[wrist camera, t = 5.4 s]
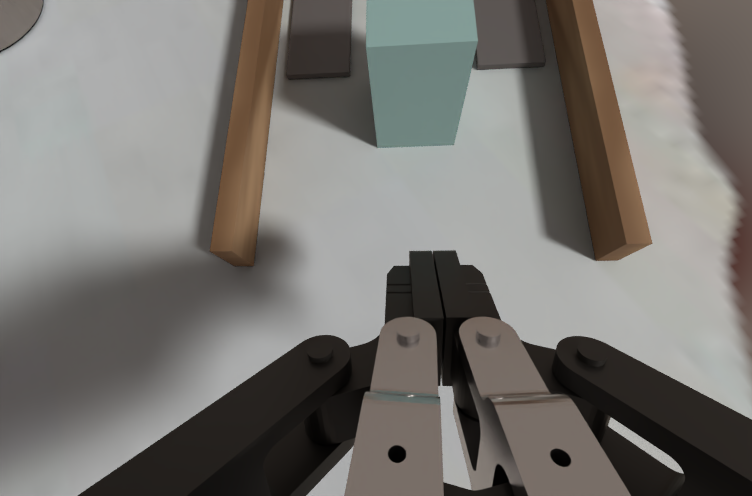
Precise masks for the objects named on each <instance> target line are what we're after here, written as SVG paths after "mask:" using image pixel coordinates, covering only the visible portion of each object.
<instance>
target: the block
mask: <svg viewBox="0 0 752 496" xmlns="http://www.w3.org/2000/svg"><path fill="white" fill-rule="evenodd" d="M477 43H478V37H477V28H476V19H475V10H474V1H473V0H367V9H366V52H367V60H368V69H369V78H370V87H371V95H372V104H373V113H374V122H375V130H376V139H377V148H388V147H415V146H441V145H454V142H455V138H456V133H457V129H458V125H459V121H460V116H461V112H462V108H463V103H464V99H465V95H466V90H467V86H468V82H469V77H470V73H471V69H472V64H473V60H474V56H475V52H476V47H477Z"/></svg>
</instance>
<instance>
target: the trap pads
mask: <svg viewBox="0 0 752 496" xmlns="http://www.w3.org/2000/svg"><path fill="white" fill-rule="evenodd" d="M473 1H474V10H475V19H476V28H477V37H478V43H477V47H476V62H477V70H481V69H501V68H521V67H541V66H544V64H545V62H546V61H545V56H544V50H543V45H542V39H541V33H540V28H539V22H538V17H537V11H536V6H535V0H473ZM351 19H352V0H294V3H293V13H292V23H291V33H290V43H289V53H288V63H287V74H286V75H287V78H288V79H300V78H320V77H340V76H350V51H351Z"/></svg>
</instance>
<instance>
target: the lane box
mask: <svg viewBox="0 0 752 496" xmlns="http://www.w3.org/2000/svg"><path fill="white" fill-rule="evenodd" d="M546 4H547V9H548V15H549V20H550V25H551V30H552V36H553V41H554V46H555V51H556V56H557V62H558V67H559V72H560V77H561V82H562V88H563V93H564V98H565V103H566V108H567V114H568V119H569V124H570V129H571V134H572V140H573V145H574V150H575V155H576V160H577V166H578V171H579V176H580V181H581V186H582V192H583V197H584V202H585V207H586V212H587V218H588V223H589V228H590V233H591V238H592V244H593V249H594V254H595V259H596V261H611V260H620V259H622V258H624V257H626V256H628V255H630V254H632V253H634V252H636V251H638V250H640V249H642V248H644V247H646V246H648V245H650V244H652V240H651V236H650V232H649V228H648V224H647V220H646V216H645V212H644V208H643V203H642V199H641V195H640V191H639V187H638V183H637V179H636V175H635V171H634V167H633V163H632V159H631V155H630V151H629V147H628V143H627V139H626V134H625V130H624V126H623V122H622V118H621V114H620V110H619V106H618V102H617V98H616V94H615V90H614V86H613V82H612V78H611V74H610V70H609V65H608V61H607V57H606V53H605V49H604V45H603V41H602V37H601V33H600V29H599V25H598V21H597V17H596V13H595V9H594V5H593V1H592V0H546ZM282 8H283V0H248V4H247V10H246V17H245V23H244V30H243V36H242V43H241V50H240V56H239V63H238V69H237V76H236V82H235V89H234V95H233V102H232V109H231V115H230V122H229V128H228V135H227V141H226V148H225V155H224V161H223V168H222V174H221V181H220V187H219V194H218V200H217V207H216V214H215V220H214V227H213V233H212V240H211V246H210V252H211V253H213V254H215V255H217V256H218V257H220V258H222V259H223V260H225V261H227V262H228V263H230V264H232V265H233V266H254V259H255V250H256V241H257V232H258V224H259V215H260V206H261V197H262V188H263V179H264V170H265V161H266V152H267V143H268V134H269V125H270V116H271V107H272V98H273V89H274V80H275V71H276V62H277V53H278V44H279V35H280V26H281V17H282Z"/></svg>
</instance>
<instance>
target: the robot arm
mask: <svg viewBox="0 0 752 496" xmlns="http://www.w3.org/2000/svg"><path fill="white" fill-rule="evenodd" d="M42 5H43V0H0V50H2V49H4V48H6V47H8V46H10V45H11V44H13V43H14V42H16V41H17V40H18V39H20V38H21V37H22V36H23V35H24V34H25V33H26V32H27V31H28V30H29V29H30V28H31V27H32V26H33V24H34V23H35V22H36V20H37V18H38V16H39V14H40V12H41V9H42ZM441 378H442V385H443V386H452V387H453V393H454V402H453V413H454V418H455V422H456V426H457V430H458V434H459V438H460V442H461V446H462V450H463V454H464V458H465V462H466V466H467V470H468V474H469V478H470V483H471V490H468V489H465V488H461V487H458V486H454V485H451V484H447V483H444V482H443V462H442V435H441V408H440V397H438V386H440V379H441ZM611 417H612V418H613V419H615V420H616V421H618V422H619V423H621V424H622V425H624V426H625V427H627V428H628V429H630V430H631V431H633V432H634V433H636V434H638V435H639V436H641V437H642V438H644V439H645V440H647V441H648V442H650V443H651V444H653V445H654V446H656V447H657V448H659V449H660V450H662V451H663V452H665V453H666V454H668V455H669V456H670V457H672V458H673V459H674V460H675V461H676V462H677V463H678V464H679V466H680V467H681V468H682V470H683V472H684V474H682V473H678V472H676V471H674V470H672V469H670V468H668V467H667V466H665V465H664V464H662V463H661V462H659V461H658V460H656V459H655V458H654V457H652V456H651V455H649V454H648V453H646V452H645V451H643V450H642V449H640V448H639V447H637V446H636V445H634V444H633V443H632V442H630V441H629V440H627V439H626V438H624V437H623V436H621V435H620V434H618V433H617V432H615V431H614V430H612V429H611V428H610V427H608V423H609V421H610V418H611ZM353 445H354V448H353V454H352V459H351V464H350V469H349V474H348V480H347V485H346V490H345V495H344V496H752V420H751V419H749V418H747V417H745V416H743V415H742V414H740V413H738V412H736V411H734V410H732V409H730V408H728V407H726V406H724V405H722V404H721V403H719V402H717V401H715V400H713V399H711V398H709V397H707V396H705V395H703V394H701V393H699V392H698V391H696V390H694V389H692V388H690V387H688V386H686V385H684V384H682V383H680V382H678V381H677V380H675V379H673V378H671V377H669V376H667V375H665V374H663V373H661V372H659V371H657V370H655V369H654V368H652V367H650V366H648V365H646V364H644V363H642V362H640V361H638V360H636V359H634V358H633V357H631V356H629V355H627V354H625V353H623V352H621V351H619V350H617V349H615V348H613V347H611V346H610V345H608V344H606V343H603V342H601V341H599V340H596V339H593V338H589V337H582V336H572V337H567V338H564V339H563V340H561V341H560V342H559V343H558V345H557V348H556V350H555V349H550V348H546V347H541V346H537V345H533V344H529V343H526V342H524V341H522V340H520V338H519V337H518V335H517V333H516V332H515V330H514V329H513V328H512V327H511V326H510V325H508V324H507V323H505V322H503V321H501V319H500V316H499V314H498V311H497V309H496V306H495V304H494V301H493V299H492V296H491V294H490V293H489V289H488V286H487V285H486V282H485V279H484V277H483V274H482V273H481V272H480V271H479V270H478V269H476V268H475V267H474V266H473V265H460V263H459V260H458V257H457V253H456V251H455V250H453V251H433V253H432V251H409V266H393V268H392V269H391V270H390V271H389V273H388V274H387V288H386V309H385V325H384V326H383V327H382V329H381V332H380V335H379V336H378V337H376V338H375V339H374V340H372V341H370V342H368V343H365V344H362V345H358V346H354V347H349V346H348V344H347V343H346V342H345V341H344V340H343V339H341V338H339V337H336V336H331V335H320V336H315V337H312V338H309V339H307V340H305V341H303V342H302V343H300V344H299V345H297V346H296V347H294V348H293V349H291V350H290V351H289V352H287V353H286V354H284V355H283V356H281V357H280V358H278V359H277V360H275V361H274V362H272V363H271V364H270V365H268V366H267V367H265V368H264V369H262V370H261V371H259V372H258V373H256V374H255V375H253V376H252V377H250V378H249V379H248V380H246V381H245V382H243V383H242V384H240V385H239V386H237V387H236V388H234V389H233V390H231V391H230V392H229V393H227V394H226V395H224V396H223V397H221V398H220V399H218V400H217V401H215V402H214V403H212V404H211V405H210V406H208V407H207V408H205V409H204V410H202V411H201V412H199V413H198V414H196V415H195V416H193V417H192V418H190V419H189V420H188V421H186V422H185V423H183V424H182V425H180V426H179V427H177V428H176V429H174V430H173V431H171V432H170V433H169V434H167V435H166V436H164V437H163V438H161V439H160V440H158V441H157V442H155V443H154V444H152V445H151V446H150V447H148V448H147V449H145V450H144V451H142V452H141V453H139V454H138V455H136V456H135V457H133V458H132V459H130V460H129V461H128V462H126V463H125V464H123V465H122V466H120V467H119V468H117V469H116V470H114V471H113V472H111V473H110V474H109V475H107V476H106V477H104V478H103V479H101V480H100V481H98V482H97V483H95V484H94V485H92V486H91V487H90V488H88V489H87V490H85V491H84V492H82V493H81V494H79V495H78V496H306V495H307V494H308V493H309V492H310V491H311V490H312V489H313V488H314V487H315V486H316V485H317V484H318V483H319V482H320V481H321V479H322V478H323V477H324V476H325V475H326V474H327V473H328V472H329V471H330V470H331V469H332V468H333V467H334V466H335V465H336V464H337V463H338V462H339V461H340V460H341V459H342V457H343V456H344V455H345V454H346V453H347V452H348V451H349V450H350V449H351V448H352V447H353Z"/></svg>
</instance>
